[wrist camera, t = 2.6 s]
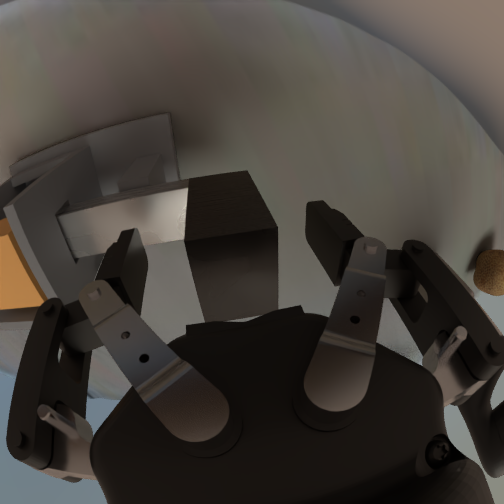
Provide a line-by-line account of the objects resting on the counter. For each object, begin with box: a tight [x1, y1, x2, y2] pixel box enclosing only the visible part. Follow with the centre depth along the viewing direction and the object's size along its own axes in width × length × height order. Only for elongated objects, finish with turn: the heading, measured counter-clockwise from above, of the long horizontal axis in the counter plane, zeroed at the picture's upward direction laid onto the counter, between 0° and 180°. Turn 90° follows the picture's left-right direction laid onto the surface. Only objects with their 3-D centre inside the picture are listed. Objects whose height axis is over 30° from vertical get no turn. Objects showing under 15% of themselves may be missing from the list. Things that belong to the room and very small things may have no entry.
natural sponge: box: [473, 250, 504, 296], centre depth 34 cm, size 9×9×10 cm
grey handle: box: [55, 171, 278, 322], centre depth 12 cm, size 18×4×8 cm, turn 93°
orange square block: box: [0, 218, 48, 310], centre depth 12 cm, size 5×5×3 cm
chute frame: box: [0, 112, 180, 330], centre depth 16 cm, size 16×10×12 cm, turn 93°
